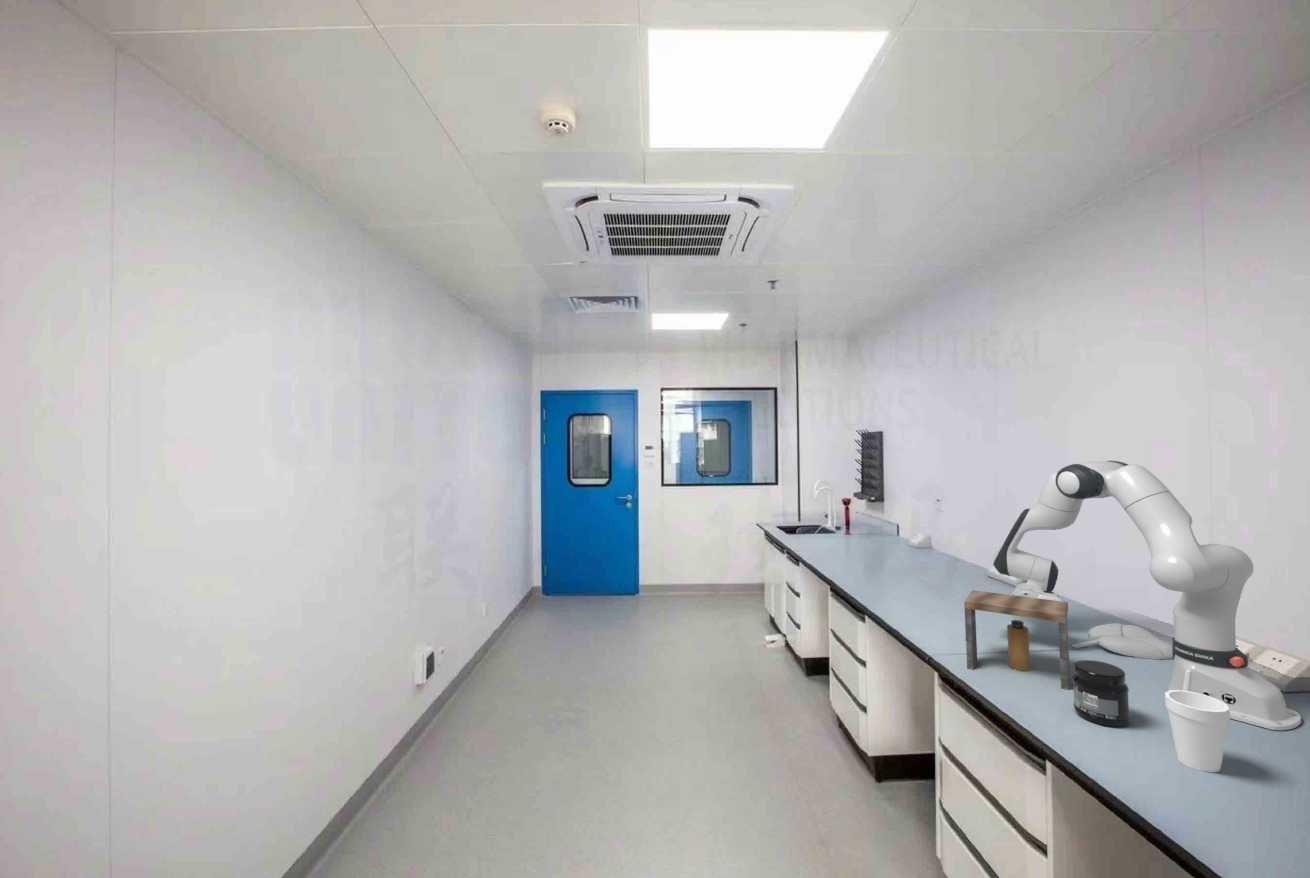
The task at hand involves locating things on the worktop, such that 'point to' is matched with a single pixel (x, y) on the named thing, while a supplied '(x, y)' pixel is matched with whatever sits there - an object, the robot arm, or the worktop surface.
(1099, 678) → the supplement container
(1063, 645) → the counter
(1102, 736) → the worktop surface
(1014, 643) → the amber bottle
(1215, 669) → the robot arm
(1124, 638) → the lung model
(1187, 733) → the foam cup
